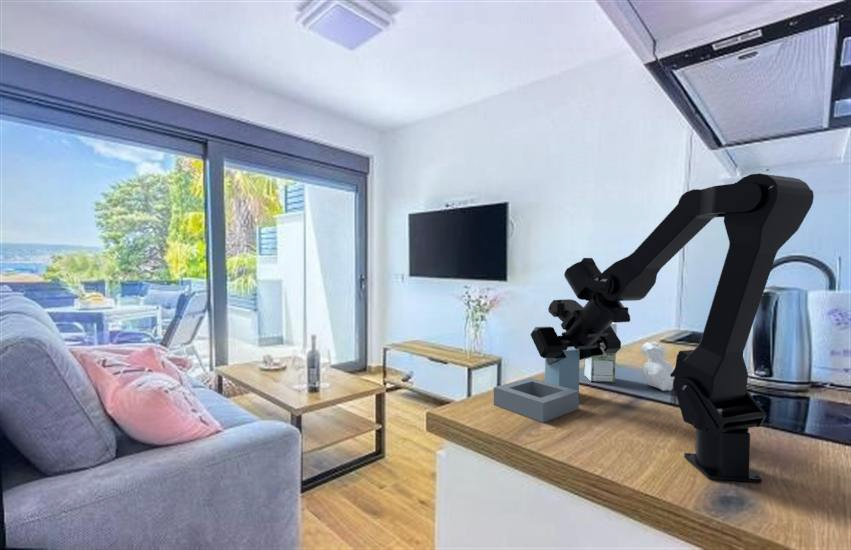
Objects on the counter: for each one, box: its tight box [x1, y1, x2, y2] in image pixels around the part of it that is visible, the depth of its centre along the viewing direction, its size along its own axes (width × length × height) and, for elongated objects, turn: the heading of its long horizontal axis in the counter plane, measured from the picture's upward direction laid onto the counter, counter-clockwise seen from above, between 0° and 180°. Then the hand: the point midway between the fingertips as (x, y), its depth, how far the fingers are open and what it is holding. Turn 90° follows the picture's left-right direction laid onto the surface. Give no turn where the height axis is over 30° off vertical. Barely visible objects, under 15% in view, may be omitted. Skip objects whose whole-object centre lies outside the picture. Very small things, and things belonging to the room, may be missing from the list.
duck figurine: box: [640, 341, 674, 392], centre depth 94 cm, size 12×8×11 cm
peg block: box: [544, 347, 581, 392], centre depth 87 cm, size 5×5×10 cm
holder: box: [493, 377, 580, 424], centre depth 79 cm, size 12×12×4 cm
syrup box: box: [583, 322, 618, 383], centre depth 99 cm, size 6×6×14 cm
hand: (558, 362), depth 88 cm, fingers closed on peg block, 5 cm apart
